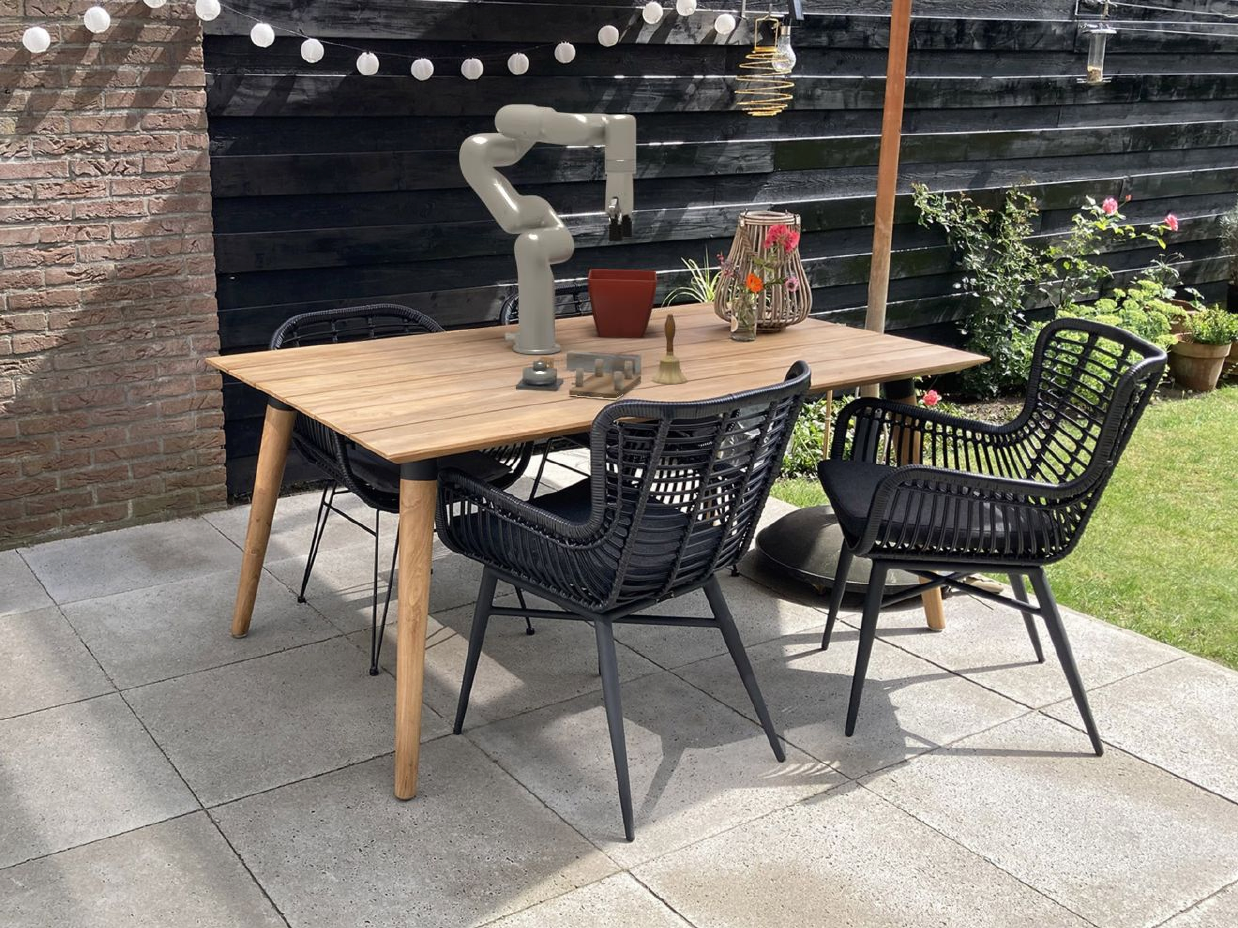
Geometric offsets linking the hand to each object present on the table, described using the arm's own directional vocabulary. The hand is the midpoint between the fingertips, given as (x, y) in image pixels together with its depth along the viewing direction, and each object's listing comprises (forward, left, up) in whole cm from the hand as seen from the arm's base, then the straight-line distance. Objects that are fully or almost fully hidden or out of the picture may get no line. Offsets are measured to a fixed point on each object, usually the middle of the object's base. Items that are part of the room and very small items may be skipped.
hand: (620, 239), depth 306 cm
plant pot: (-11, +39, -32) cm, 51 cm away
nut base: (-8, -29, -31) cm, 44 cm away
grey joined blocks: (0, -11, -31) cm, 33 cm away
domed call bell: (-11, -27, -30) cm, 42 cm away
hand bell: (+17, -14, -32) cm, 38 cm away
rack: (+5, -28, -31) cm, 42 cm away
